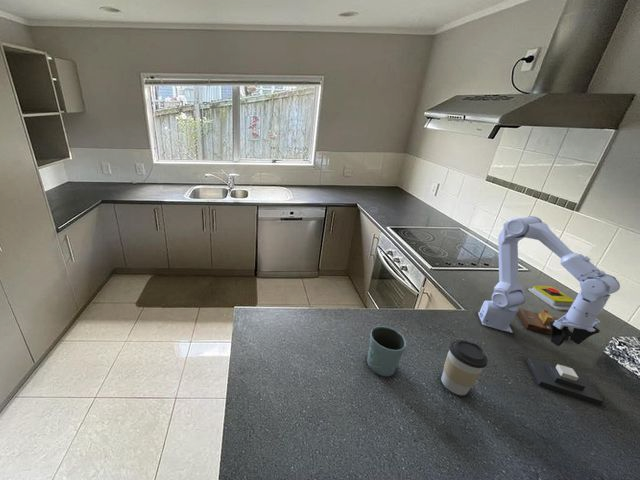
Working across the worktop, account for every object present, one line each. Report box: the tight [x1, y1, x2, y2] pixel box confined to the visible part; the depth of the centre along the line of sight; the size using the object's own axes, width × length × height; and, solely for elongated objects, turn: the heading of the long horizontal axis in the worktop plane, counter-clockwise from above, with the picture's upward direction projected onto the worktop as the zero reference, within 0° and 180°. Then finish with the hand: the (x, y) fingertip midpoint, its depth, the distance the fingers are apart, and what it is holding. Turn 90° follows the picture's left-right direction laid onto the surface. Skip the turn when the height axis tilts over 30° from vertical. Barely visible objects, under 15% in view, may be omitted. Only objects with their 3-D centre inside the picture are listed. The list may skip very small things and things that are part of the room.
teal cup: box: [366, 325, 407, 377], centre depth 89 cm, size 10×10×12 cm
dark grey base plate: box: [526, 357, 604, 406], centre depth 87 cm, size 14×10×4 cm
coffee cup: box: [440, 339, 489, 396], centre depth 83 cm, size 9×9×15 cm
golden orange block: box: [539, 309, 553, 325], centre depth 109 cm, size 5×2×4 cm, turn 154°
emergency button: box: [527, 285, 575, 312], centre depth 127 cm, size 9×4×15 cm
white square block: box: [555, 363, 579, 381], centre depth 86 cm, size 4×4×2 cm
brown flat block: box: [517, 308, 569, 341], centre depth 111 cm, size 12×10×3 cm
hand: (564, 342), depth 92 cm, fingers open, 7 cm apart
